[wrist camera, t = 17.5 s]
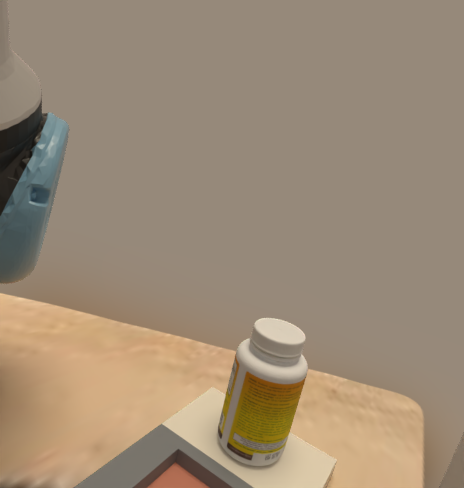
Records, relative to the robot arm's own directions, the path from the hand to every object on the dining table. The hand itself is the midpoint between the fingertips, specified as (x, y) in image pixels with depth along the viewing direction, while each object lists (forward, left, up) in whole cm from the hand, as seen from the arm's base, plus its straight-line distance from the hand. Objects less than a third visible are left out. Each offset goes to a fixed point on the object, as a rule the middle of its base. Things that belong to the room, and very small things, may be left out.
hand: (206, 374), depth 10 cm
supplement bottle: (-11, +14, -16) cm, 23 cm away
